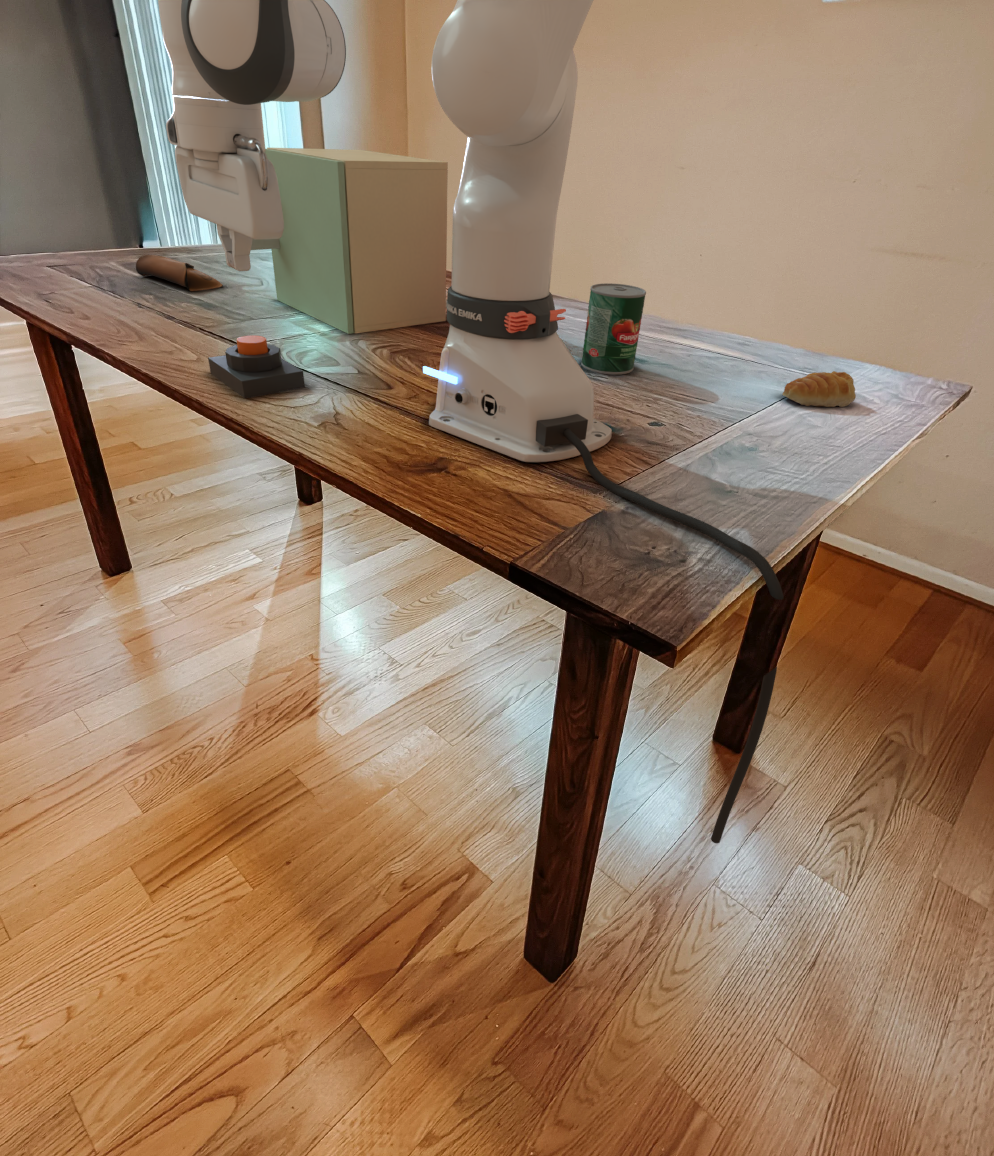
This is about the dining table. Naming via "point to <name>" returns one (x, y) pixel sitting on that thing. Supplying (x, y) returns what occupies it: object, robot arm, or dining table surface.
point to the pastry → (822, 389)
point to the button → (252, 345)
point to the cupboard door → (312, 239)
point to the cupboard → (393, 236)
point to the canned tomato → (612, 328)
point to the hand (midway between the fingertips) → (239, 269)
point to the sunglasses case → (176, 272)
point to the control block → (256, 372)
